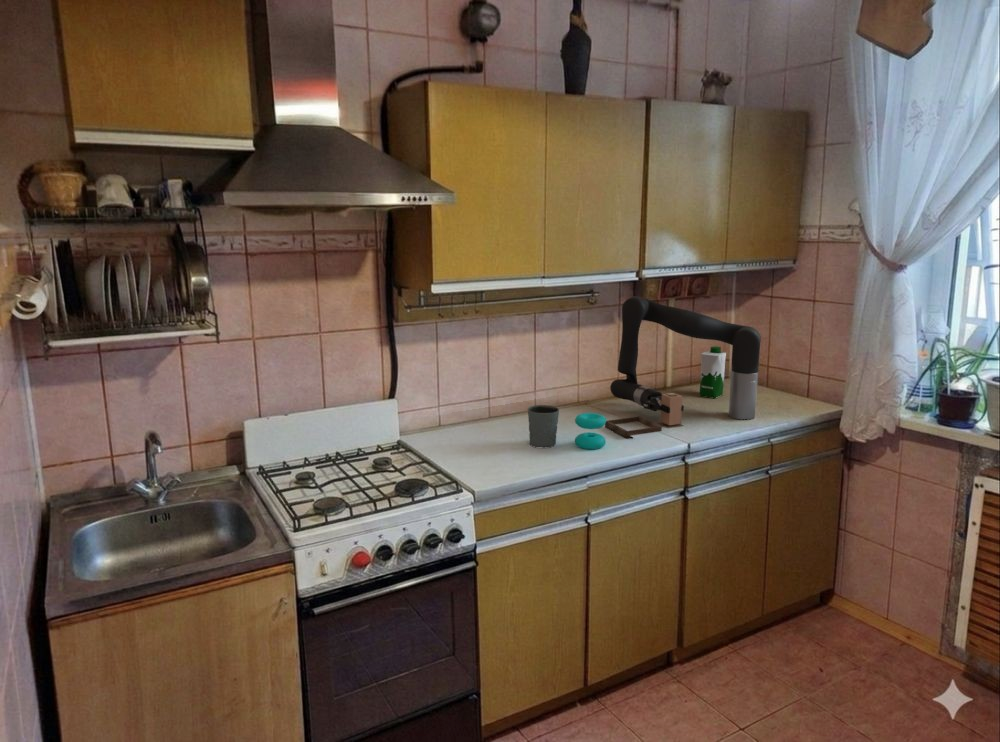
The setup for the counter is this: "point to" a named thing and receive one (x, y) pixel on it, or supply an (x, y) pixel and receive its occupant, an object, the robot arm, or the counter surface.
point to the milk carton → (712, 372)
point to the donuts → (589, 438)
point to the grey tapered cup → (543, 425)
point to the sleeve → (672, 409)
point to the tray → (627, 434)
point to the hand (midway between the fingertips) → (675, 409)
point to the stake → (670, 425)
